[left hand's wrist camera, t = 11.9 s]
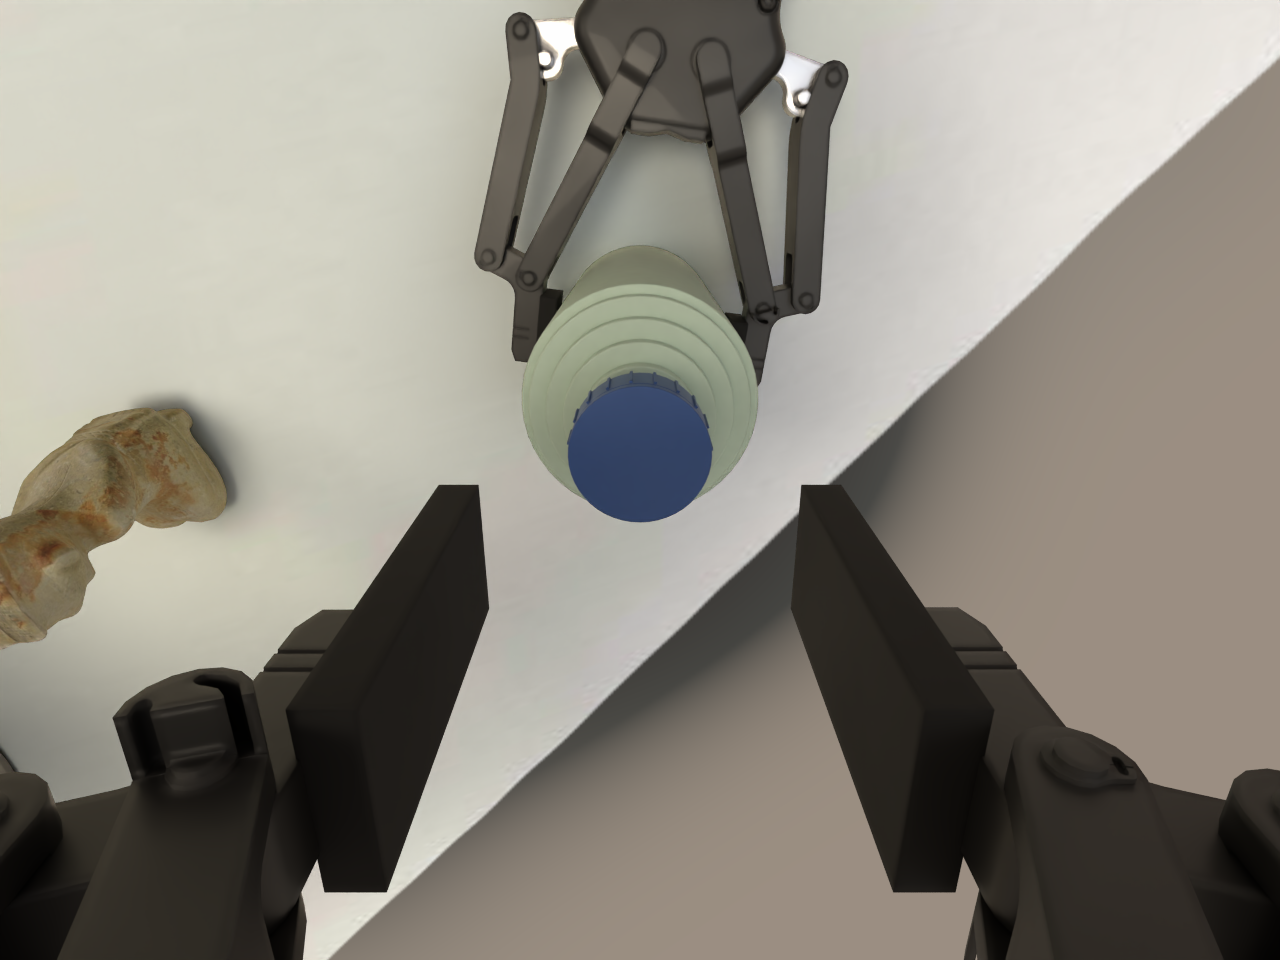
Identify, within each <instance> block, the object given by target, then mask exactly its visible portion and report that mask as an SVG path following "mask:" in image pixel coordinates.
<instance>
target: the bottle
mask: <svg viewBox="0 0 1280 960" xmlns="http://www.w3.org/2000/svg"><path fill="white" fill-rule="evenodd" d="M630 371H633V373H639V372H640V373H651V374H653V372H656V374H657V375H660V376H663V377H666V378H668V379H670V380H672V381H674V382H675V380H677V381H678V384H679V385H681V386H682V387H683V388H684V389H685V390H687V391H688V392H689V393H690V394H691V395H694V396H695V398H696V401H697V403H698V405H699V407H700V409H701V411H702V413H703V414H706V417H707V421H708V424H709V428H708V432H709V435H710V438H711V442H712V446H713V451H712V463H711V468H710V472H709V475H708V478H707V480H706V483H705V484H704V486H703V488H702V490H701V491H700V492H699V494H698V495H697V496H696V498H695V499H697V498H698V497H700V496H702V495H703V494H705V493H707V492H708V491H710V490H711V489H712V488H713V487H715V486H716V485H717V484H718V483H720V482H721V481H722V480H723V479H724V478H725V477H726V476H727V475H728V474H729V473H730V472H731V470H732V469H733V468H734V466H735V465H736V464H737V462H738V461H739V460H740V458H741V456H742V455H743V453H744V451H745V449H746V448H747V445H748V443H749V440H750V438H751V436H752V433H753V429H754V425H755V422H756V416H757V408H758V387H757V380H756V374H755V370H754V367H753V363H752V360H751V358H750V355H749V353H748V351H747V349H746V346H745V344H744V343H743V341H742V340H741V338H740V336H739V335H738V333H737V332H736V330H735V329H734V327H733V326H732V324H731V323H730V321H729V320H728V318H727V317H726V316H725V314H724V313H723V311H722V310H721V308H720V307H719V305H718V304H717V302H716V301H715V299H714V298H713V297H712V295H711V294H710V292H709V291H708V289H707V288H706V286H705V285H704V283H703V282H702V280H701V279H700V278H699V276H698V275H697V274H696V272H695V271H694V270H693V269H692V268H691V267H690V266H689V265H688V264H687V263H686V262H685V261H684V260H682V259H681V258H679V257H678V256H676V255H674V254H672V253H670V252H668V251H666V250H663V249H660V248H656V247H651V246H629V247H624V248H620V249H617V250H614V251H611V252H609V253H608V254H606V255H604V256H602V257H601V258H599V259H598V260H596V261H595V262H594V263H593V264H592V265H591V266H590V267H589V268H588V269H587V270H586V271H585V272H584V273H583V275H582V276H581V277H580V279H579V280H578V282H577V283H576V285H575V286H574V288H573V289H572V291H571V292H570V293H569V295H568V296H567V298H566V299H565V301H564V302H563V304H562V305H561V307H560V308H559V310H558V311H557V312H556V314H555V315H554V317H553V318H552V320H551V321H550V323H549V324H548V326H547V327H546V329H545V330H544V331H543V333H542V335H541V336H540V338H539V339H538V341H537V343H536V344H535V346H534V348H533V351H532V353H531V355H530V357H529V360H528V363H527V366H526V370H525V374H524V379H523V386H522V409H523V417H524V422H525V426H526V429H527V433H528V436H529V438H530V441H531V443H532V445H533V448H534V450H535V451H536V453H537V455H538V456H539V458H540V460H541V461H542V463H543V464H544V465H545V466H546V468H547V469H548V470H549V472H550V473H551V474H552V475H553V476H554V477H555V478H556V479H557V480H558V481H559V482H560V483H561V484H563V485H564V486H565V487H567V488H568V489H569V490H570V491H572V492H573V493H575V494H577V495H578V496H580V497H582V498H583V499H585V498H584V497H583V495H582V494H581V493H580V491H579V490H578V488H577V486H576V485H575V483H574V481H573V478H572V476H571V473H570V469H569V465H568V445H567V440H568V437H569V434H570V430H571V429H572V428H573V425H574V423H573V419H574V416H575V412H576V409H577V408H578V409H579V408H580V406H581V405H582V403H583V402H584V400H585V399H586V398H587V396H588V393H589V391H590V390H591V391H593V390H594V389H596V388H597V387H598V386H599V385H601V384H602V383H604V382H606V381H607V378H609V377H610V378H611V379H612V378H614V377H617V376H620V375H624V374H629V373H630ZM695 499H694V500H695ZM585 500H586V499H585Z"/></svg>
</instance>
